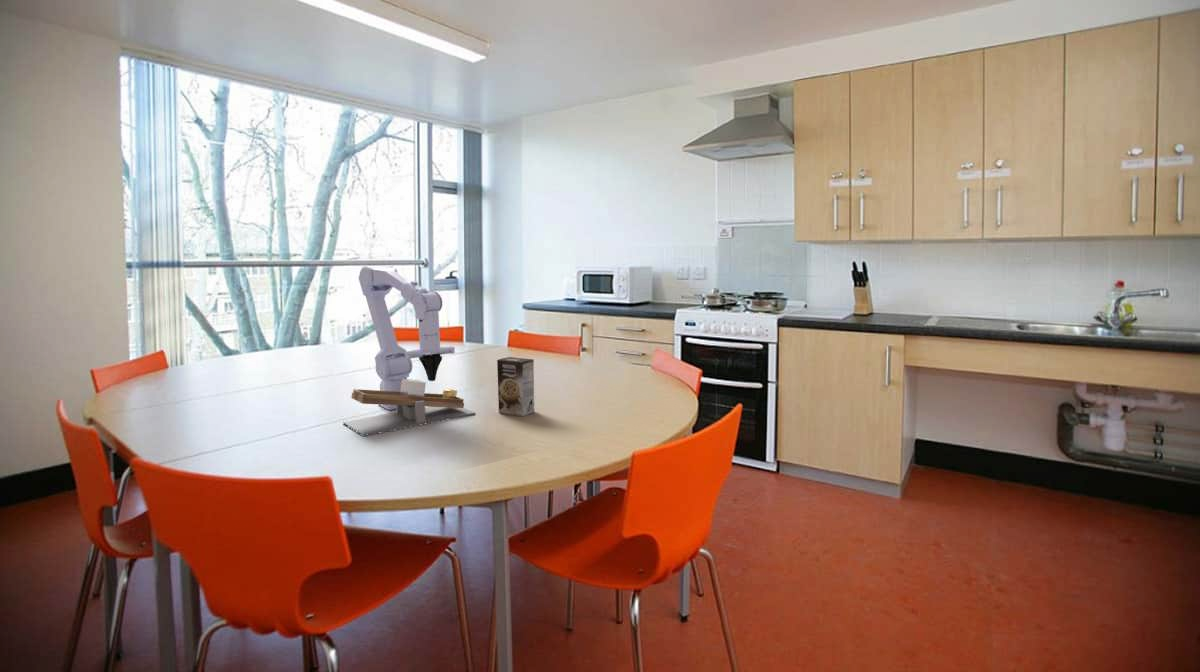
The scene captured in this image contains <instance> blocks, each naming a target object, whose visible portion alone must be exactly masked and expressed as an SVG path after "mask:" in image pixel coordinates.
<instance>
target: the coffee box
mask: <svg viewBox="0 0 1200 672" xmlns="http://www.w3.org/2000/svg"><path fill="white" fill-rule="evenodd" d="M496 362H497V363H496V364H497V396H498V397H497V398H498V401H497V402H498V413H499V414H505V415H511V416H520V417H525V416H527V415H529V414H532V413H534V412H535V380H534V379H535V377H534V375H535V372H534V369H535V368H534V366H535V365H534V362H535V361H534V358H522V357H514V356H511V357H510V356H509V357H502V358H499V359H497V360H496Z"/></svg>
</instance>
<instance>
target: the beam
mask: <svg viewBox="0 0 1200 672" xmlns="http://www.w3.org/2000/svg"><path fill="white" fill-rule="evenodd" d="M442 396H443V393H429V392H428V393H427V392H426V393H425V392H424V397H410V396H400V392H395V391H380V390H376V389H359V388H358V389H357V388H354V389H353V391H352V392H351V397H350V398H351V399H352V400H354V401H357V402H359V403H360V404H363V405H378V404H381V405H404V406H415V402H416V401H422V400H423V401H425V407H450V408H465V407H464V406H465V403H464V399H465V398H464V399H463V398H461V397H458V396H456V399H448V398H442Z"/></svg>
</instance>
